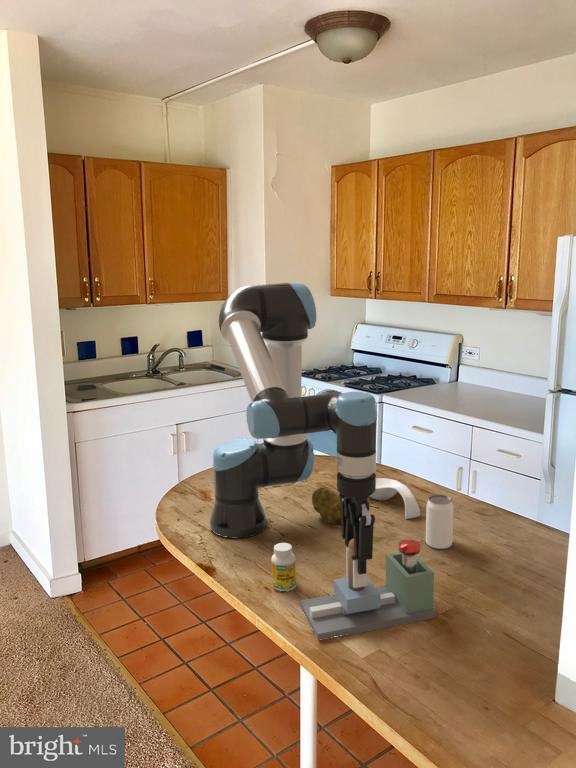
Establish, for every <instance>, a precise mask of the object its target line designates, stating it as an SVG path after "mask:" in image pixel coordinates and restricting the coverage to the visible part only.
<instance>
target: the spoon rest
mask: <svg viewBox="0 0 576 768" xmlns="http://www.w3.org/2000/svg"><path fill="white" fill-rule="evenodd" d="M397 493H398V494H399V495H400V496H401V497H402V499H403V503H404V518H405V520H409V519H410V520H411V519H414V518H415V519H416V518H419V517H420V516H421V510H420V509H421V508H420V506H419V504H418V501H417V500H416V497H415V495H414V494H413V492H412V491H411V490H410V489H409V488H408V486H407V485H405V484H403V483H402V482H400V481H399V480H395V479H392V478H387V477H385V478H383V477H381V478H379V477H376V490H375V492H374V493H373V494H371V495H370V496H369V497H370V498H371V499H373V500H376V501H386V500H389V499H391V498H392V497H394V496H396V494H397Z"/></svg>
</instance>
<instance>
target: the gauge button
mask: <svg viewBox="0 0 576 768" xmlns="http://www.w3.org/2000/svg"><path fill="white" fill-rule="evenodd" d="M421 547H422V546H421V543H420V542H419V541H417V540H413V539H402V540H400V541H399V542H398V552H401V553H402V567H403V568H404V569H405V570H406V571H407V573H408V574H413V573H416V571H417V556H418V554H420V553H421Z"/></svg>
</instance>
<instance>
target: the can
mask: <svg viewBox="0 0 576 768" xmlns="http://www.w3.org/2000/svg"><path fill="white" fill-rule="evenodd" d="M425 510H426V511H425V513H426V515H425V516H426V518H425V519H426V520H425V524H426V525H425V542H426V544H427V545H429V547H430V548H432V549H436V550H446V549H449V548H450V547H451V546H452V545H453V530H454V529H453V528H454V504H453V501H452V498H451V497H450V496H448V495H445V494H432V495H430V496H428V501H427V503H426V509H425Z"/></svg>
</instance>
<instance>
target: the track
mask: <svg viewBox="0 0 576 768" xmlns="http://www.w3.org/2000/svg"><path fill="white" fill-rule="evenodd" d="M434 584H435V572H434V571H433V570H432V569H431V568H430V567H429V566H428V565H427V564H426V563H425V562H424V561H423V560H422V559H421V557H419V556H418V555H417V571H416V573H413V574H408V573H407V571H406V570H405V569H404V568H403V567H402V553H401V552H400V551H396V552H389V553H385V585H380V586H375V588H376V589H377V590H378V591H379V593H380V608H376V609H374V610H369V611H363V612H358V613H353V614H348V615H343V613H342V605H341V603H340V602H337V597H336V595H335V594H334V593H333V594H331V595H325V596H318V597H313V598H307V599H301V600H299V607H301V608H300V609H302V610H301V612H302V611H303V612H304V614H305V616H306V617H305V616H304V617H305V619H306V618H307V619H306V621H307V620H308V621H307V623H308V622H309V623H308V625H309V624H310V625H309V627H310V626H311V627H312V629H313V631H312V633H313V632H314V633H313V635H314V634H315V635H316V637H317V639H318V640H320V639H324V638H325V640H327V639H326V638H330V639H332V638H331V637H334V636H340V635H345V636H347V635H346V634H350V635H355V634H360V633H365V632H369V631H374V630H375V631H376V630H379V629H386V628H389V627H394V626H400V625H404V624H405V625H406V624H410V623H411V624H412V623H414V622H419V621H420V622H421V621H426V620H430V619H435V618H436V610H435V608H434V589H435V588H434V587H435V585H434ZM303 612H302V613H303ZM304 614H303V615H304ZM311 627H310V628H311ZM312 629H311V630H312ZM354 633H355V634H354ZM315 635H314V636H315ZM316 637H315V638H316ZM340 637H341V636H340ZM317 639H316V640H317ZM318 640H317V641H318ZM320 641H321V640H320Z"/></svg>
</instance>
